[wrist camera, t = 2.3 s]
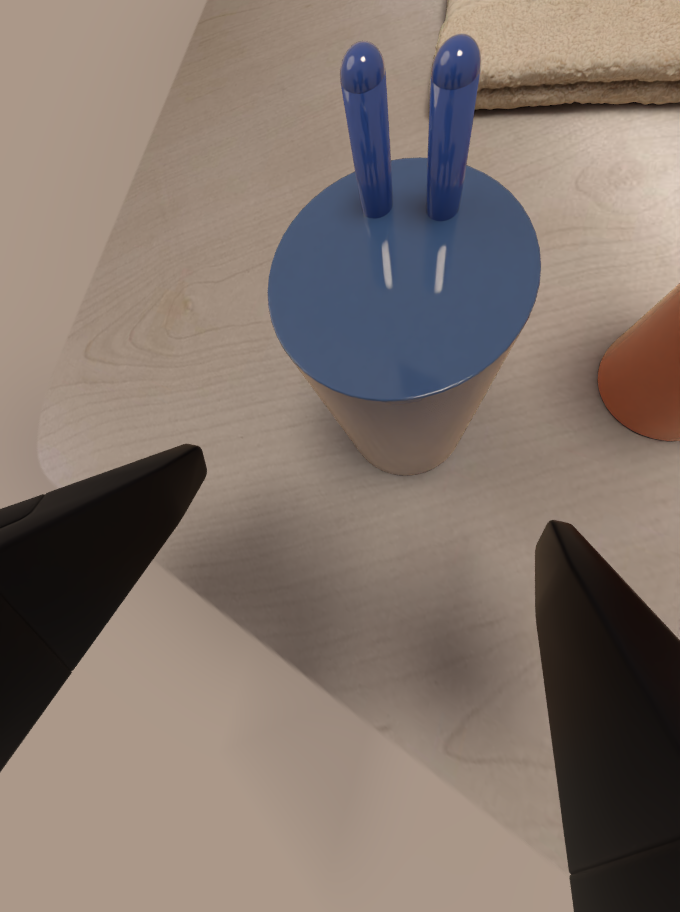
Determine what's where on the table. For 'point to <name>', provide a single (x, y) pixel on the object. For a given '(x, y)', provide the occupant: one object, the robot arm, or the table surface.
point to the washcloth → (571, 50)
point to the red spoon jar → (646, 372)
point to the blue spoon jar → (406, 273)
